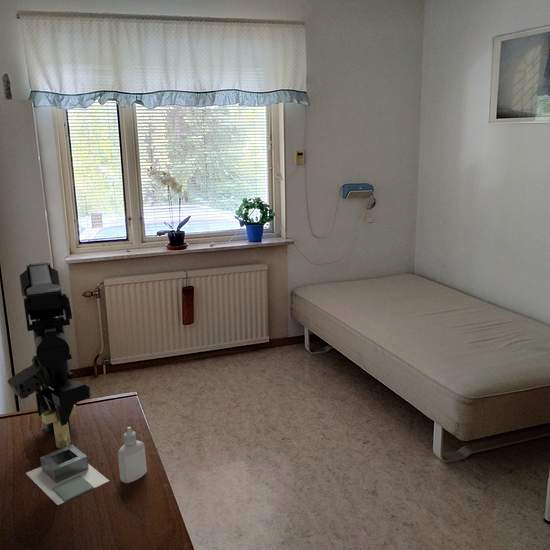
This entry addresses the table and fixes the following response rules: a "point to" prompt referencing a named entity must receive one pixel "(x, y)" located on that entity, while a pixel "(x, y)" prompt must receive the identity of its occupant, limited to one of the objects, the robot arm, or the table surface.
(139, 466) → the eye dropper bottle
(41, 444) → the table surface
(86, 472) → the board
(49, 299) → the robot arm
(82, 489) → the mat
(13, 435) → the table surface
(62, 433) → the tan flat lever
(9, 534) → the table surface
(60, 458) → the grey square frame
